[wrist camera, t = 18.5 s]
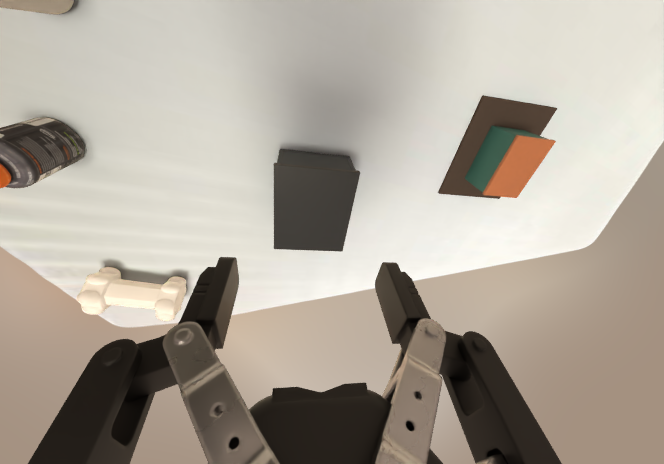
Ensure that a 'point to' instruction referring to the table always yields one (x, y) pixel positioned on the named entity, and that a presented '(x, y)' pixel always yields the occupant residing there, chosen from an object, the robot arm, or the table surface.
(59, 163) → the pill bottle
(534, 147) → the orange and teal box
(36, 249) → the table surface
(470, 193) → the mat
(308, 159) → the bottom box
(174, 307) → the white bone
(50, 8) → the beverage can
